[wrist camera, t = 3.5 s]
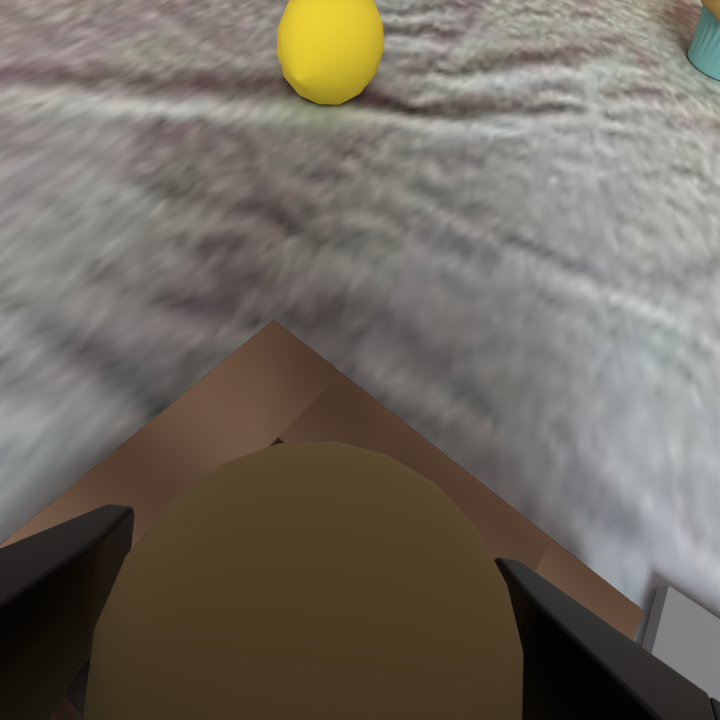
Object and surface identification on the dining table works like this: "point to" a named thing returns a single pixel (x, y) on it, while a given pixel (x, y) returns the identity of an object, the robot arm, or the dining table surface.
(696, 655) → the grey mat
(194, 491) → the cork
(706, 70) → the cupcake
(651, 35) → the dining table surface
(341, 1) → the lemon
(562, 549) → the socket block
